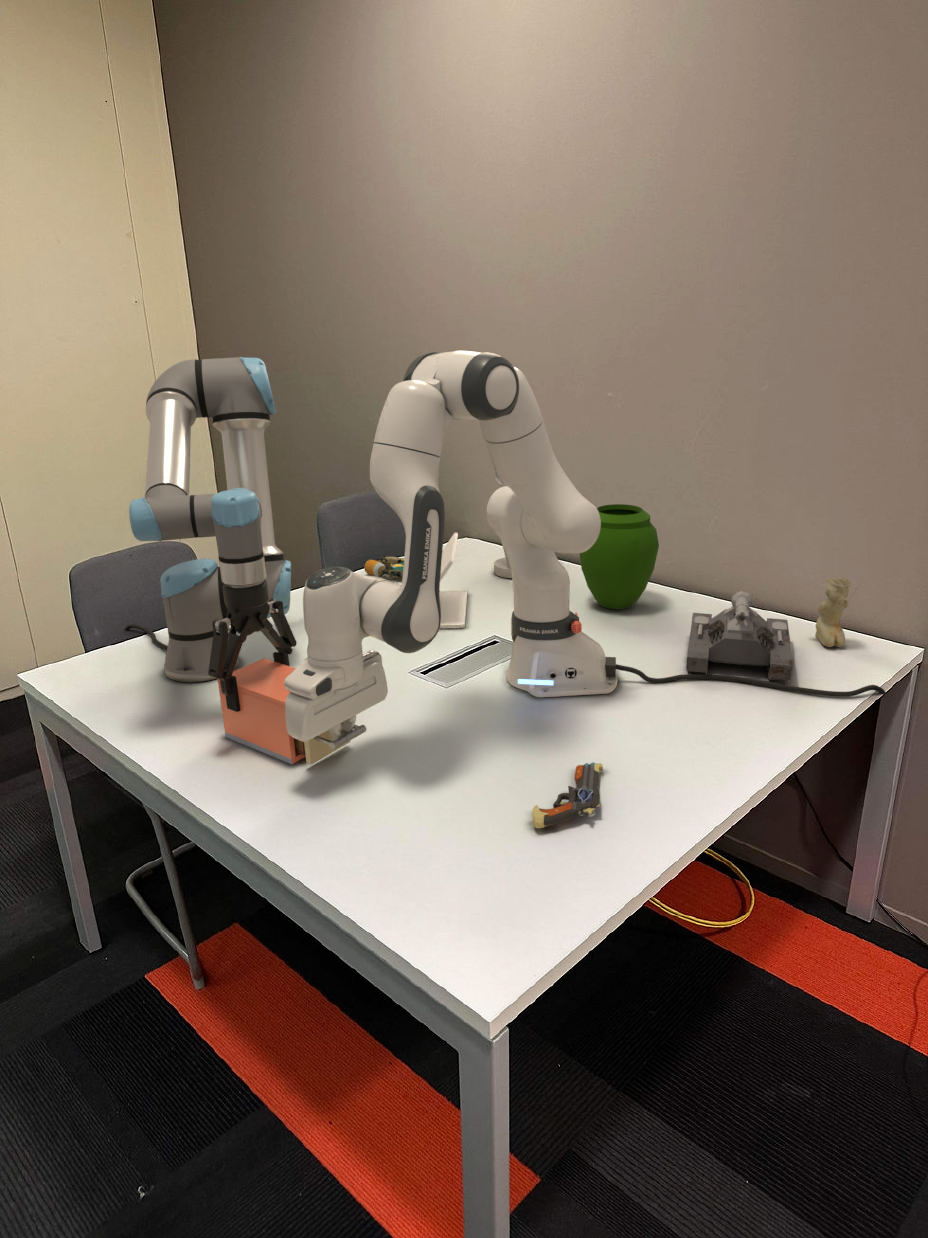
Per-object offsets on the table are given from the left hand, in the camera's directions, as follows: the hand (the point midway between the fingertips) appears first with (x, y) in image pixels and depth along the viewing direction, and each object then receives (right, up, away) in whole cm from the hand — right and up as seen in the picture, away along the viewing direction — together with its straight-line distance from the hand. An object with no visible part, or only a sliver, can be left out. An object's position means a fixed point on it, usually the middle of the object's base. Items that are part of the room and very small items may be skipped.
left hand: (259, 697), depth 154 cm
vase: (+75, +18, +60) cm, 98 cm away
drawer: (+10, -8, -5) cm, 13 cm away
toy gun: (+53, -14, -22) cm, 59 cm away
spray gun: (+17, +28, +91) cm, 97 cm away
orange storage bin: (+4, -7, 0) cm, 8 cm away
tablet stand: (+29, +16, +60) cm, 68 cm away
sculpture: (+117, +9, +33) cm, 122 cm away
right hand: (+17, -7, -11) cm, 21 cm away
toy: (+95, +6, +27) cm, 99 cm away
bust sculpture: (+54, +26, +85) cm, 104 cm away
